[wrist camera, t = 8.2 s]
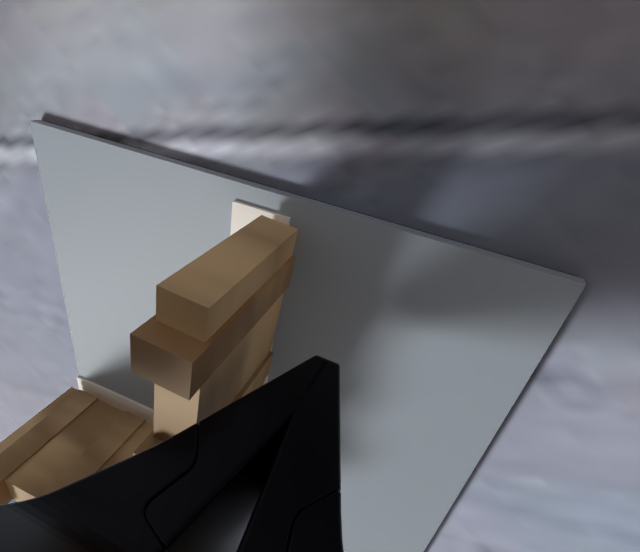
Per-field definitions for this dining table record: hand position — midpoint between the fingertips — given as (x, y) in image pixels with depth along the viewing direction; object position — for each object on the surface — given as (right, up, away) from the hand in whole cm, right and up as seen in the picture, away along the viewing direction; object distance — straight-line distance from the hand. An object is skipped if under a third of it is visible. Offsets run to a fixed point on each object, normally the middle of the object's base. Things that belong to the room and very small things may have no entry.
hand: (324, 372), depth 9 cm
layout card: (-3, -1, +4) cm, 5 cm away
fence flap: (-2, 0, +3) cm, 3 cm away
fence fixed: (-7, -3, +7) cm, 11 cm away
